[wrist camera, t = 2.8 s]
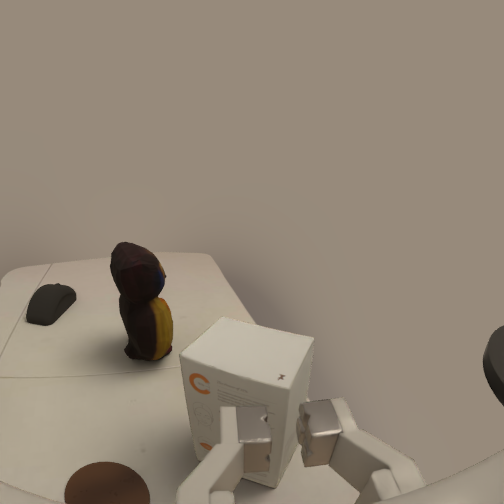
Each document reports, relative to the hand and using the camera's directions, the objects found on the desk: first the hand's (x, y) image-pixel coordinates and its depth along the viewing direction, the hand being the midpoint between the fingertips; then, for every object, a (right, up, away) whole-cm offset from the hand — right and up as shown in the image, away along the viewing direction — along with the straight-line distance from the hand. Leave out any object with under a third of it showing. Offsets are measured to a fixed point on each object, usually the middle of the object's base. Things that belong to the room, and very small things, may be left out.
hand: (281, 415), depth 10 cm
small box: (-1, -14, +16) cm, 21 cm away
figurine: (-15, -8, +31) cm, 35 cm away
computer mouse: (-37, -5, +40) cm, 54 cm away
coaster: (-14, -15, +9) cm, 23 cm away
